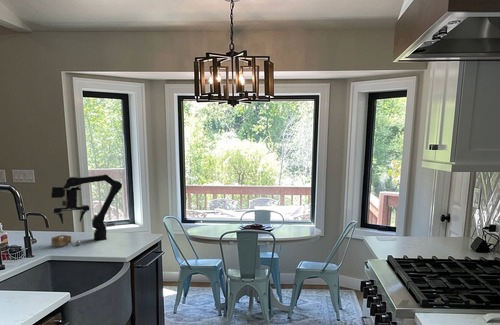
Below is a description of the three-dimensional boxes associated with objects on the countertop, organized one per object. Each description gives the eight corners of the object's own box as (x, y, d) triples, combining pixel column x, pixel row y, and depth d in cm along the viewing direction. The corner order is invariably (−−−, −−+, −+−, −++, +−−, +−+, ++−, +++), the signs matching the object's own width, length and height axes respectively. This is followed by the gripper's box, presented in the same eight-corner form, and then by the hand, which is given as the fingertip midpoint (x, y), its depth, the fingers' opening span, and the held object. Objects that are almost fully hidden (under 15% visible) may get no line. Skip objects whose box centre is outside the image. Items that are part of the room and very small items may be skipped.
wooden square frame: (62, 241, 178) (62, 234, 178) (71, 242, 176) (71, 236, 176) (51, 244, 171) (51, 237, 171) (60, 245, 169) (60, 239, 169)
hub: (67, 242, 178) (67, 234, 178) (68, 245, 173) (68, 237, 173) (53, 244, 174) (53, 236, 174) (54, 247, 168) (54, 239, 168)
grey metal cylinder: (79, 244, 175) (79, 240, 175) (80, 245, 174) (80, 241, 174) (75, 245, 174) (75, 241, 174) (76, 246, 173) (76, 241, 173)
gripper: (86, 195, 191) (86, 218, 191) (52, 196, 179) (51, 222, 180) (89, 197, 182) (89, 222, 183) (53, 199, 171) (53, 225, 171)
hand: (71, 222), depth 179 cm, fingers open, 9 cm apart
